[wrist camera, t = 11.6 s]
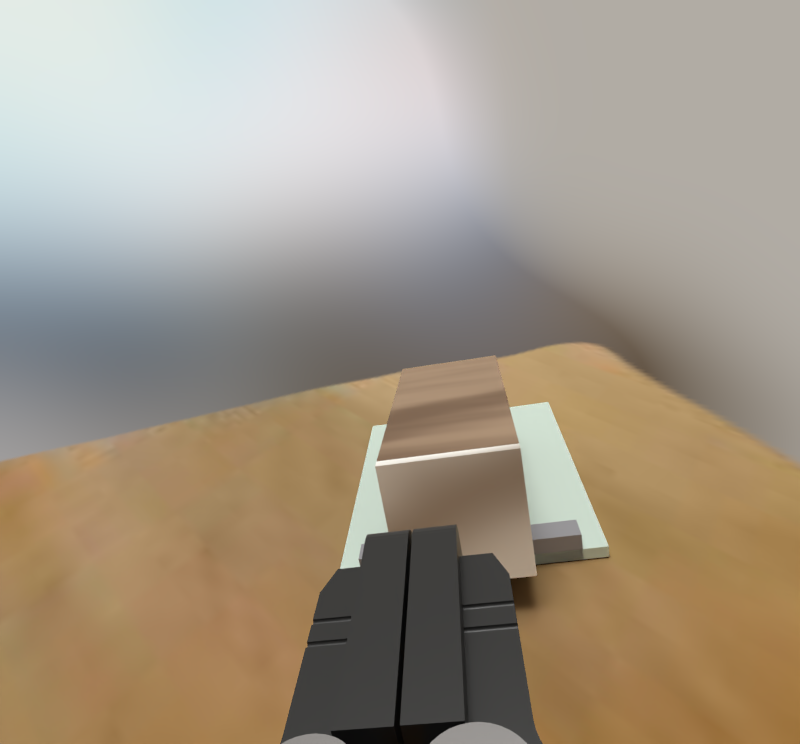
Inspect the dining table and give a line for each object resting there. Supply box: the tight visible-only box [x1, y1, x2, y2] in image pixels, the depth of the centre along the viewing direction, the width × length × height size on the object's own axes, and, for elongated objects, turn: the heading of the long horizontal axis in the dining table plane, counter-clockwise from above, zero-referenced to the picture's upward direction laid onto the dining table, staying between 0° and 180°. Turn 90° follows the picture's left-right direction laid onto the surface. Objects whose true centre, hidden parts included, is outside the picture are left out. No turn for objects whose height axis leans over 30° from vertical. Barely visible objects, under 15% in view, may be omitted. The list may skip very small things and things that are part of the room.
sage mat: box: [340, 402, 609, 569], centre depth 31 cm, size 14×11×1 cm
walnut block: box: [375, 356, 537, 578], centre depth 27 cm, size 5×5×12 cm
